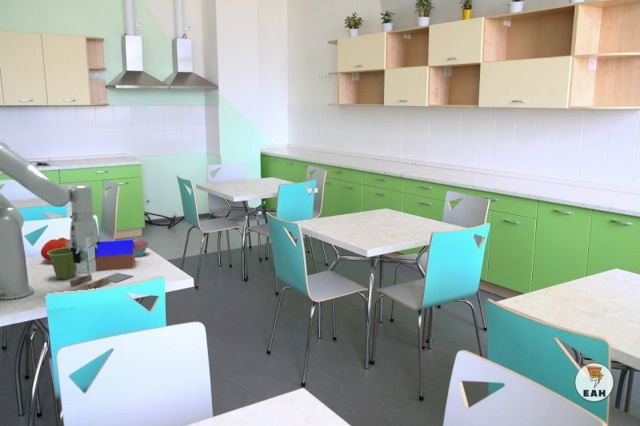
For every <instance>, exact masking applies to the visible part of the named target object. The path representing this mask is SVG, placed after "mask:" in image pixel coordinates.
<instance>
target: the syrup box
mask: <svg viewBox="0 0 640 426" xmlns="http://www.w3.org/2000/svg"><path fill="white" fill-rule="evenodd" d="M74 242H75V241H74ZM75 245H76V244H75ZM76 248H77V247H76ZM79 253H80V263H75V267H76V272H75V274H84V275H88V274H92V273H93V272H97V271H96V263H95V244H90V237H88V238H86V239H85V246H83V247H80V250H79Z"/></svg>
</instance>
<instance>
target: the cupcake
mask: <svg viewBox="0 0 640 426" xmlns="http://www.w3.org/2000/svg"><path fill="white" fill-rule="evenodd" d="M133 236H134V239H135V240H133V242H134V246H135V247H134V254H135V257H143V256H145V254H146V250H147V248H148V247H149V243H148V242H147V241H145V240H141V239H140V240H138V238H137V235H136V231H135V230H133Z"/></svg>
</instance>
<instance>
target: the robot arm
mask: <svg viewBox="0 0 640 426" xmlns="http://www.w3.org/2000/svg"><path fill="white" fill-rule="evenodd" d="M0 172H1V173H2V174H4V175H6V176H7V177H9V178H10V179H12V180H14V181H15V182H17V183H18V185H20V186H22V187H23V188H24V189H26V190H28V191H29V192H31V194H33V195H35V196H36V197H38V198H39V199H41V200H42V201H44V202H46V203H47V204H49V205H50V206H53V207H56V208H61V207H65V206H66V205H68V204H69V203H71V206H70V207H71V215H69V218H70V220H71V222H70V228H69V239H70V240H69V239H68V240H69V241H68V242H67V244H66V247H67V248H68V249H69V250H70V251H71V252H72V253H73V261H74V263H80V253H79V250H80V247H83V246H85V239H86V238H88V237H90V244H95V259H96V258H97V251H96V249H97V248H98V245H99V243H100V242H102V241H101V240H102V239H103V237H102V236H101V235H100V234H99V229H98V224H97V221H96V218H94V208H93V207H94V206H93V205H94V204H93V191H92V190H93V188H92V187H91V185H89V184H85V183H82V184H81V183H80V184H63V183H58V184H57V183H55V182H54V181H52V180H50V179H49V178H48V177H47V176H45V175H44V174H42V172H41V171H40V170H39V169H38V168H37V167H36V165H34V164H33V163H32V162H31V161H29V160H27V159H26V158H24V157H22V156H21V155H20V154H18V153H16V152H15V151H14V150H12V149H11V148H10V147H9V145H8V144H6V143H5V142H4V141H2V140H0ZM24 223H25V219H24V216H23V214H22V212H20V210H19V209H17V207H15V206H14V205H13V203H12V202H10V201H9V200H8V199H7V198H6V197H5V196H4V194H2V193H1V192H0V300H16V299H21V298H24V297H28V296H30V295H32V294H33V293H34V291H35V289H34V287H33V286H30V285H29V275H28V268H27V267H28V266H27V259H26V253H25V252H26V250H25V244H24V237H23V232H22V229H23V226H24ZM74 241H75V242H74ZM75 244H76V245H75ZM71 245H73V247H72V246H71ZM76 247H77V248H76ZM20 297H21V298H20ZM15 298H16V299H15Z"/></svg>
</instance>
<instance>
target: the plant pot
mask: <svg viewBox="0 0 640 426" xmlns="http://www.w3.org/2000/svg"><path fill="white" fill-rule="evenodd" d="M47 254H48V255H49V257H50V260H51V261H50V263H52V267H53V271H54V274H55V277H56V279H58V280H61V279H64V280H67V279H73V278H74V276H76V267H75V263H74V261H73V253H72V252H71V251H70V250H69V249H68V248H67V247H66V248H59V249H54V250H51V251H49V252H47Z"/></svg>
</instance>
